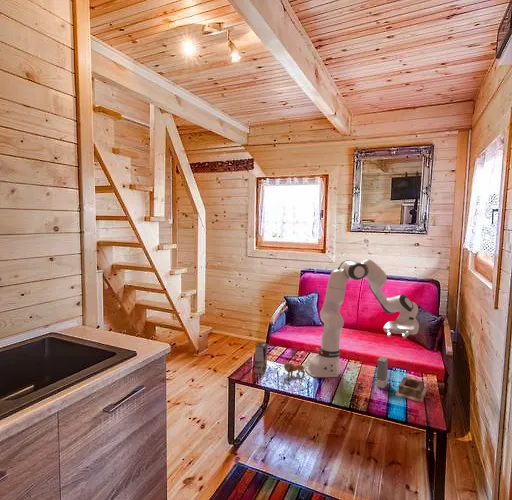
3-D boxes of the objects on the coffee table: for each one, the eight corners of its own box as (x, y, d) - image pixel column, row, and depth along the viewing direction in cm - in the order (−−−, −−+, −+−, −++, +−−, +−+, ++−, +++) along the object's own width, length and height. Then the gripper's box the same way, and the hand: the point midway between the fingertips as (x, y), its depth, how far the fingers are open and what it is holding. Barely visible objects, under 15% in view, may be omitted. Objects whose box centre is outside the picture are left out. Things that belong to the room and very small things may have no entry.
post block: (395, 394, 176) (395, 385, 176) (401, 384, 190) (401, 375, 189) (422, 402, 169) (422, 392, 169) (426, 390, 182) (426, 381, 182)
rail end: (376, 386, 186) (377, 360, 186) (379, 381, 192) (380, 356, 192) (384, 388, 184) (385, 362, 183) (387, 383, 190) (388, 358, 189)
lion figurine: (286, 379, 192) (286, 364, 192) (281, 375, 197) (282, 361, 197) (307, 375, 199) (307, 360, 198) (302, 372, 203) (302, 357, 203)
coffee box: (264, 374, 199) (265, 347, 198) (254, 372, 200) (254, 346, 200) (267, 368, 208) (267, 343, 207) (257, 367, 209) (257, 342, 209)
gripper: (386, 317, 212) (378, 331, 204) (418, 318, 197) (410, 333, 189) (390, 324, 214) (381, 339, 206) (422, 326, 198) (414, 342, 190)
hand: (395, 336), depth 197 cm, fingers open, 8 cm apart
